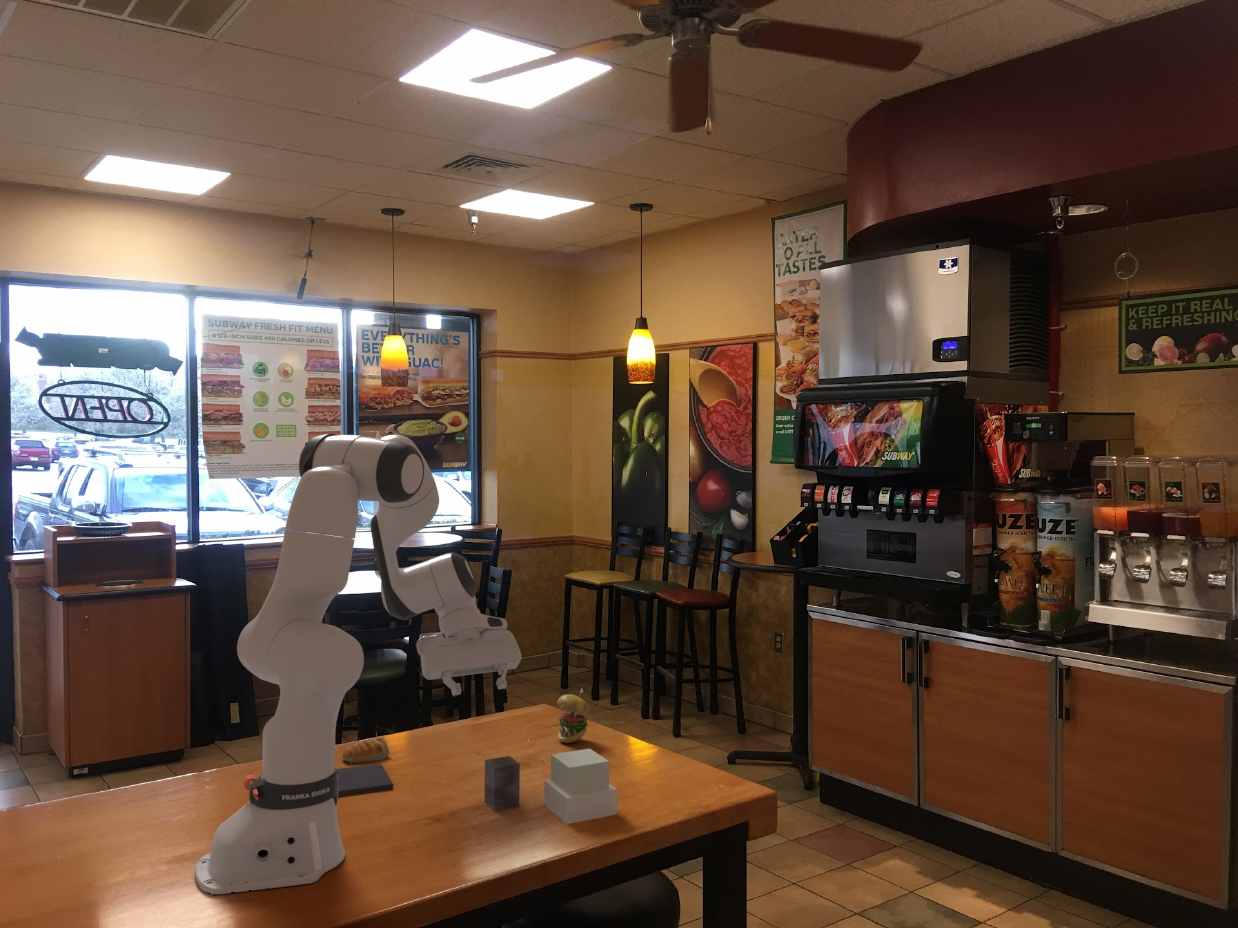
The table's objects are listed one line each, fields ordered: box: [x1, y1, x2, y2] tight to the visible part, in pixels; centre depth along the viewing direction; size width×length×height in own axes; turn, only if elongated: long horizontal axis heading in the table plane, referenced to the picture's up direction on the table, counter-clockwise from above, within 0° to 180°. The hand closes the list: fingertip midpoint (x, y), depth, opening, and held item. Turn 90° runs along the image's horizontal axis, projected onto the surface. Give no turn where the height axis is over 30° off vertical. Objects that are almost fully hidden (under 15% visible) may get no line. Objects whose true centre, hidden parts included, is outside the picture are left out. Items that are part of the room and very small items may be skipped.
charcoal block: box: [484, 755, 521, 812], centre depth 182 cm, size 5×5×8 cm
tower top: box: [550, 748, 610, 795], centre depth 180 cm, size 8×8×5 cm
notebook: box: [335, 763, 394, 797], centre depth 191 cm, size 13×2×21 cm
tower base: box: [543, 778, 618, 825], centre depth 180 cm, size 10×10×5 cm
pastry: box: [341, 737, 390, 764], centre depth 208 cm, size 9×7×4 cm
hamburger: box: [556, 687, 590, 744], centre depth 220 cm, size 8×7×12 cm
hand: (480, 690), depth 193 cm, fingers open, 8 cm apart
